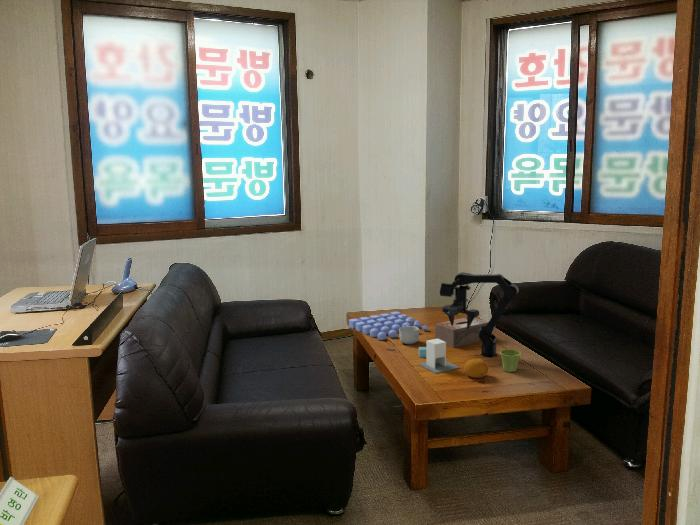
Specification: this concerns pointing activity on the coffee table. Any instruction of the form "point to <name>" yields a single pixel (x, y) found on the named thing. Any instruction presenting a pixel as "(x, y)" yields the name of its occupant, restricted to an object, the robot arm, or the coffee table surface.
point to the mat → (440, 367)
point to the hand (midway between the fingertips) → (460, 327)
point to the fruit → (476, 368)
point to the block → (422, 351)
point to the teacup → (409, 334)
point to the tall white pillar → (435, 352)
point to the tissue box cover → (459, 332)
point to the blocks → (384, 324)
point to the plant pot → (510, 359)
